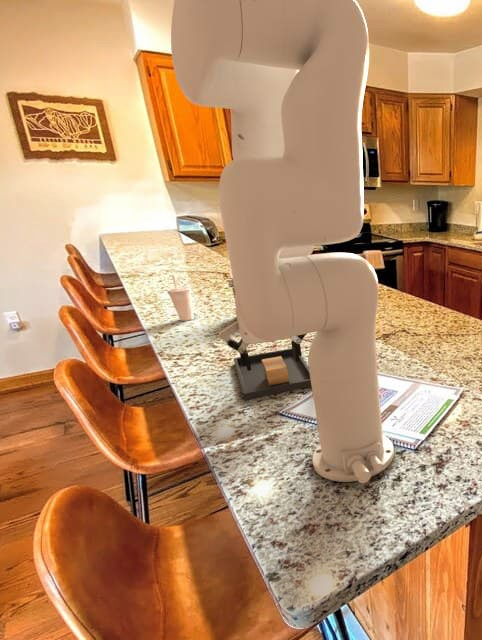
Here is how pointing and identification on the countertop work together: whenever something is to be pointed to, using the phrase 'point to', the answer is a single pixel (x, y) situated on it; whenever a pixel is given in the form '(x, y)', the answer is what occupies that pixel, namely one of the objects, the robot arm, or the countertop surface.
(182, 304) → the smoothie
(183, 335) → the countertop surface
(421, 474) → the countertop surface
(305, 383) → the tray
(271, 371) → the wooden block
